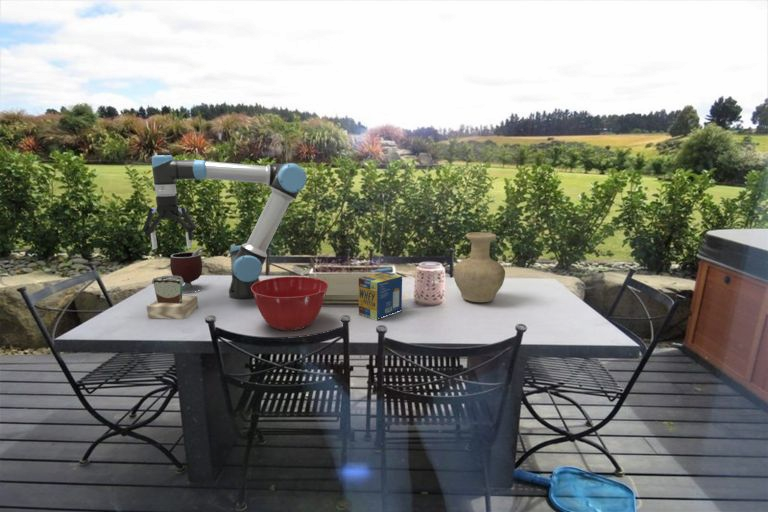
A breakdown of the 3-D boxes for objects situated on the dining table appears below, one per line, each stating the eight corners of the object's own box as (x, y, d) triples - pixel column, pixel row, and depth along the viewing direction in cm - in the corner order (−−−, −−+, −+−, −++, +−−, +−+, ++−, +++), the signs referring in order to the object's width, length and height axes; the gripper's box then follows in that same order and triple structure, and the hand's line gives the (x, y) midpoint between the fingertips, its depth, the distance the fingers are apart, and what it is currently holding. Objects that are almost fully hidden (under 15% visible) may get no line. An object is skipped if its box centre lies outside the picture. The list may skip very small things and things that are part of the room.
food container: (191, 299, 185) (189, 275, 183) (183, 304, 179) (181, 279, 177) (162, 298, 186) (160, 274, 184) (153, 303, 180) (151, 278, 178)
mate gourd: (178, 295, 207) (174, 252, 203) (168, 289, 217) (164, 248, 213) (212, 289, 217) (209, 248, 213) (200, 283, 227) (197, 244, 223)
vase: (508, 308, 193) (513, 239, 186) (456, 307, 193) (459, 238, 187) (497, 293, 215) (500, 230, 208) (449, 292, 215) (452, 230, 209)
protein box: (358, 314, 183) (357, 277, 180) (383, 306, 194) (384, 271, 191) (376, 321, 176) (376, 282, 173) (402, 311, 188) (403, 275, 184)
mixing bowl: (332, 312, 186) (332, 275, 183) (323, 339, 158) (322, 296, 155) (264, 311, 186) (262, 275, 183) (243, 338, 158) (240, 296, 155)
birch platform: (198, 307, 191) (197, 296, 190) (184, 318, 177) (183, 306, 176) (164, 307, 191) (163, 295, 190) (148, 318, 177) (146, 306, 176)
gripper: (128, 196, 173) (135, 250, 178) (195, 195, 175) (200, 249, 179) (138, 195, 181) (144, 247, 185) (201, 194, 182) (206, 245, 187)
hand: (172, 248), depth 182 cm, fingers open, 13 cm apart
